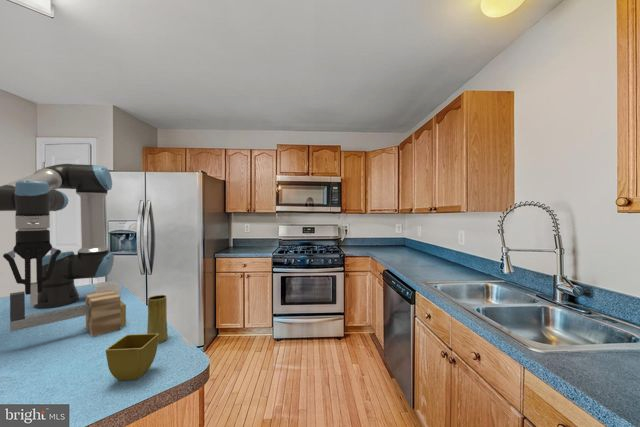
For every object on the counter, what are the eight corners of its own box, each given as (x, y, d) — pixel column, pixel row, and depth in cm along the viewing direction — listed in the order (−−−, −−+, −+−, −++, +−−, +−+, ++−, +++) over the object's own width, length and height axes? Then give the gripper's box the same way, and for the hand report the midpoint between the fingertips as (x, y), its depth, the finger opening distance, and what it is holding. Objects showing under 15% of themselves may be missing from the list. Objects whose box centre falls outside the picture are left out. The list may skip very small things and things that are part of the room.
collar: (114, 322, 106) (114, 301, 106) (120, 320, 107) (120, 300, 107) (119, 327, 101) (119, 306, 101) (125, 325, 103) (125, 304, 103)
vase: (172, 337, 93) (172, 295, 93) (156, 345, 87) (155, 301, 87) (158, 334, 95) (158, 293, 95) (142, 342, 89) (141, 299, 89)
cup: (126, 308, 121) (125, 281, 121) (108, 316, 112) (108, 286, 112) (107, 307, 122) (107, 280, 122) (88, 315, 113) (88, 286, 113)
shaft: (10, 328, 85) (10, 293, 84) (110, 307, 103) (110, 278, 103) (10, 331, 83) (9, 295, 82) (112, 309, 101) (112, 279, 101)
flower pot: (126, 366, 76) (126, 334, 76) (159, 364, 77) (159, 332, 76) (104, 386, 67) (104, 350, 67) (142, 384, 68) (141, 348, 68)
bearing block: (85, 326, 101) (85, 294, 101) (112, 320, 107) (112, 289, 107) (92, 336, 93) (91, 301, 93) (120, 329, 99) (120, 296, 99)
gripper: (1, 231, 80) (2, 312, 80) (62, 229, 89) (63, 301, 90) (2, 230, 85) (2, 306, 85) (59, 228, 94) (60, 296, 95)
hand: (33, 303), depth 87 cm, fingers closed
